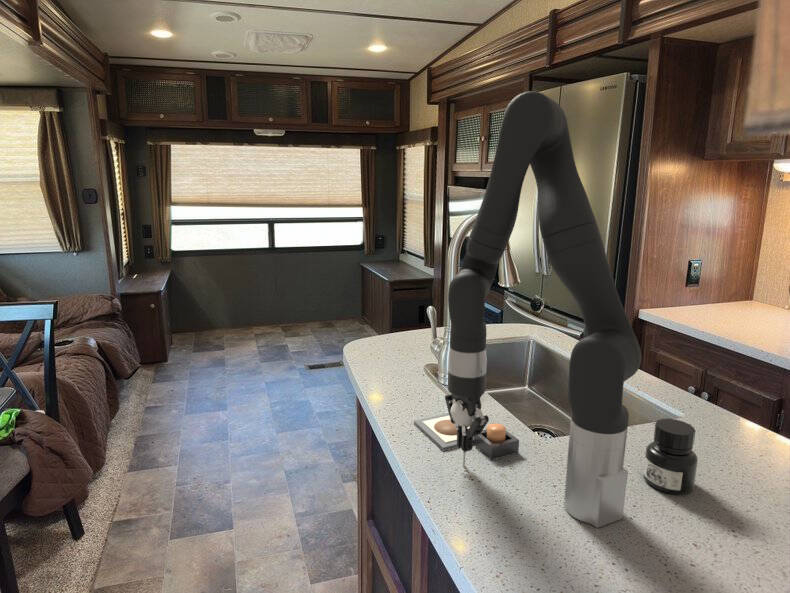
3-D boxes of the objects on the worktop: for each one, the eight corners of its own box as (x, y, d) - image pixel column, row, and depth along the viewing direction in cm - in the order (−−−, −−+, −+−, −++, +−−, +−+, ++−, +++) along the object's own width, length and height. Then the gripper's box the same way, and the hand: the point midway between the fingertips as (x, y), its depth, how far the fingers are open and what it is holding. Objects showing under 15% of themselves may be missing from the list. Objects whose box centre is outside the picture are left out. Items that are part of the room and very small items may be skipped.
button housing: (518, 452, 116) (519, 440, 115) (491, 459, 113) (492, 446, 112) (499, 438, 122) (499, 426, 121) (473, 444, 119) (473, 432, 118)
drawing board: (488, 439, 121) (489, 435, 121) (442, 450, 116) (442, 446, 116) (456, 414, 134) (456, 410, 133) (413, 423, 129) (413, 419, 128)
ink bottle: (631, 474, 107) (637, 419, 105) (664, 465, 111) (671, 412, 108) (671, 501, 99) (679, 442, 96) (706, 491, 102) (714, 434, 99)
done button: (508, 442, 116) (509, 429, 115) (493, 446, 114) (494, 433, 113) (498, 434, 119) (498, 422, 119) (483, 438, 118) (483, 425, 117)
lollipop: (455, 475, 107) (457, 406, 103) (444, 460, 112) (446, 394, 109) (483, 471, 109) (486, 402, 105) (472, 456, 114) (474, 391, 111)
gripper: (503, 377, 101) (499, 460, 105) (464, 355, 113) (462, 430, 117) (469, 384, 98) (466, 469, 102) (433, 360, 110) (432, 437, 114)
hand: (464, 448), depth 110 cm, fingers closed on lollipop, 1 cm apart
